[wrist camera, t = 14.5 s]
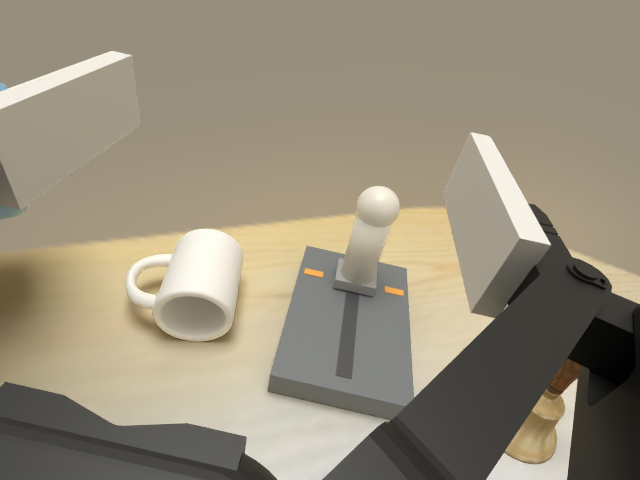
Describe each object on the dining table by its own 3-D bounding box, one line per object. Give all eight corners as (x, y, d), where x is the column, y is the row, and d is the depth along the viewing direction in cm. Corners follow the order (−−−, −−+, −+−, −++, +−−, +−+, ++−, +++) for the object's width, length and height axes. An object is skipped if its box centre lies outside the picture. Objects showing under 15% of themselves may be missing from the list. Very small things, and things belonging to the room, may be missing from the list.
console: (267, 391, 37) (270, 374, 35) (303, 261, 53) (306, 245, 51) (404, 422, 37) (414, 407, 35) (399, 283, 53) (406, 267, 51)
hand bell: (569, 469, 36) (700, 383, 26) (487, 457, 36) (589, 364, 26) (536, 390, 43) (632, 296, 33) (467, 379, 42) (542, 281, 32)
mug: (242, 279, 48) (244, 231, 44) (232, 344, 41) (234, 295, 36) (145, 271, 47) (136, 220, 42) (115, 338, 39) (100, 285, 34)
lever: (332, 289, 45) (358, 195, 37) (336, 264, 49) (361, 173, 40) (373, 298, 45) (408, 206, 37) (374, 272, 49) (406, 183, 40)
